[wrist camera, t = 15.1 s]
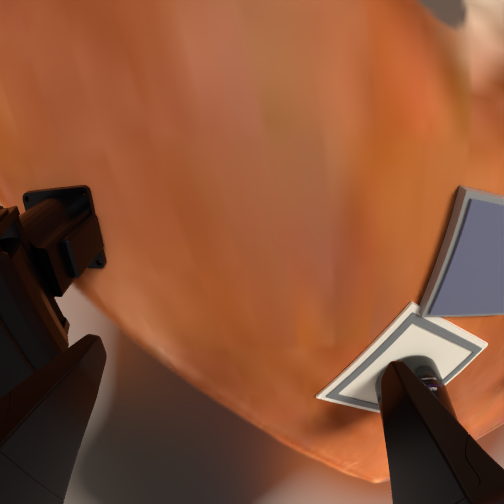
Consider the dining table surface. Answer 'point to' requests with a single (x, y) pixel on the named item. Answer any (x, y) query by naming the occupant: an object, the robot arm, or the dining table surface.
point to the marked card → (403, 356)
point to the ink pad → (469, 260)
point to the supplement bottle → (428, 375)
